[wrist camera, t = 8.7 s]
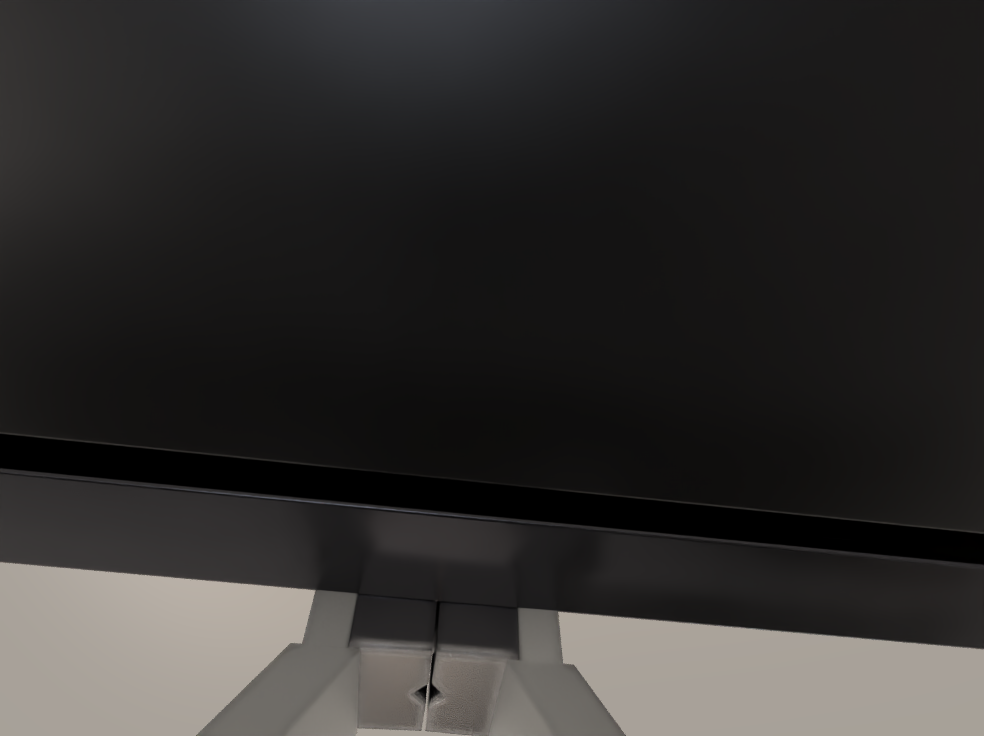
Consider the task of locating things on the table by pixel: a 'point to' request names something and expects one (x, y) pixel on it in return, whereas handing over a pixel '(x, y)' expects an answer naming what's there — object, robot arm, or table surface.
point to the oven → (508, 242)
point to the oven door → (483, 543)
